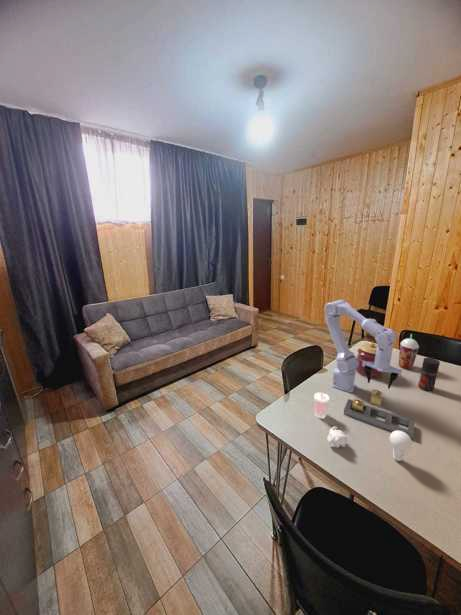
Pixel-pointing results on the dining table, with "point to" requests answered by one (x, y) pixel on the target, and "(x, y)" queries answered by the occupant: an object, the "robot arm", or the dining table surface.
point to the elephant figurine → (337, 437)
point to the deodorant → (428, 374)
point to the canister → (367, 359)
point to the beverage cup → (321, 404)
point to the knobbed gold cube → (376, 397)
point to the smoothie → (408, 353)
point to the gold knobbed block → (358, 406)
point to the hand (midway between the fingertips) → (378, 384)
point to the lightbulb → (400, 444)
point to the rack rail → (380, 423)
